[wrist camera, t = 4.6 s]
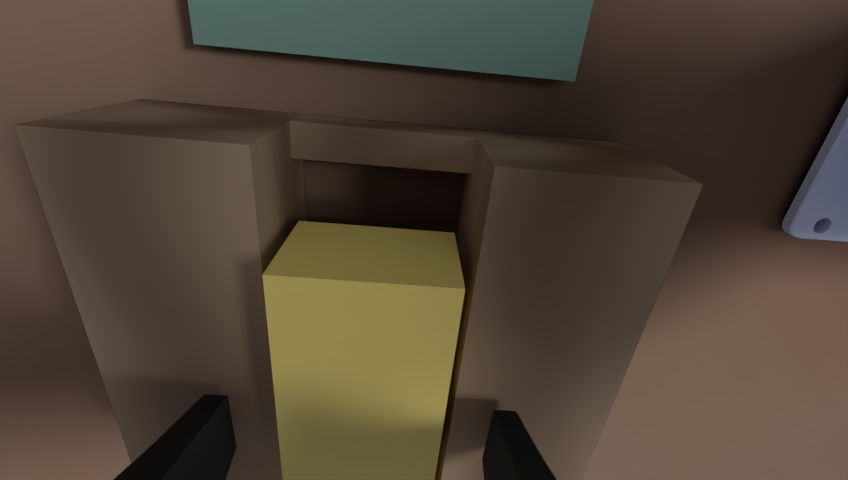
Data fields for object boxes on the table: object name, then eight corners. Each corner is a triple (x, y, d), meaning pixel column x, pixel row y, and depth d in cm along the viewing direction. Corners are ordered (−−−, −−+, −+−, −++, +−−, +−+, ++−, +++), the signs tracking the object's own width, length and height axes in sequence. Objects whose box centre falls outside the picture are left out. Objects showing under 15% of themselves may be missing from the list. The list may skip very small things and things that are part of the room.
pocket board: (619, 142, 12) (703, 184, 9) (533, 426, 18) (562, 525, 14) (141, 98, 11) (14, 124, 8) (205, 409, 17) (147, 508, 13)
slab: (454, 232, 11) (465, 288, 8) (427, 433, 14) (428, 515, 12) (298, 220, 11) (261, 274, 8) (308, 427, 14) (285, 510, 12)
